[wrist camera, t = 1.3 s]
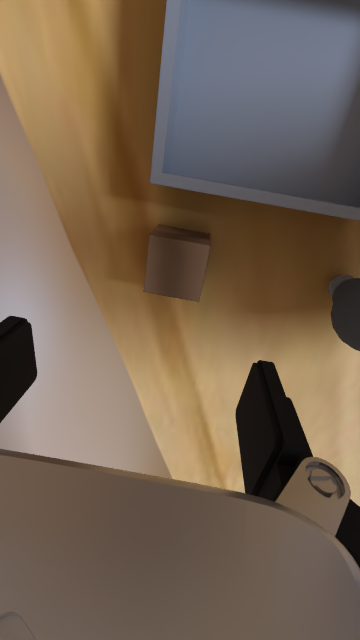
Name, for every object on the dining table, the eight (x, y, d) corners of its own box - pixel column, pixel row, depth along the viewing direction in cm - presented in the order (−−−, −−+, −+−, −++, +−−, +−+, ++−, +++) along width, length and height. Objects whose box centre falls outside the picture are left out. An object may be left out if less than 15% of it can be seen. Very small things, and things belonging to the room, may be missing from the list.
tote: (452, -4, 18) (533, -62, 13) (354, 216, 24) (387, 225, 20) (185, -52, 18) (178, -126, 13) (160, 181, 24) (149, 183, 20)
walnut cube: (210, 233, 26) (210, 246, 22) (200, 282, 28) (199, 301, 24) (158, 224, 26) (149, 234, 22) (153, 273, 28) (143, 291, 24)
